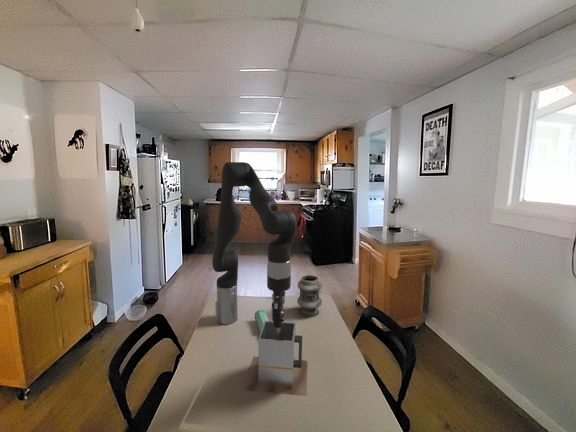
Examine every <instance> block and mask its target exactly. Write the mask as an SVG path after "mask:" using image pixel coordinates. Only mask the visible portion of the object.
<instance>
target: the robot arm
mask: <svg viewBox="0 0 576 432" xmlns="http://www.w3.org/2000/svg"><path fill="white" fill-rule="evenodd" d="M221 170H222V171H221V182H220V183H221V185H220V186H221V188H220V191H221V193H220V204H219V205H220V206H219V211H218V217H217V229H216V230H217V231H216V238H215V239H216V240H215V244H214V248H213V254H212V259H211V260H212V261H211V262H212V268H213V271H215V272H216V273H222V272H223V273H224V272H225V273H224V274H222V275H220V276H219V277H218V278H217V279H216V302H215V303H214V304H215V305H214V306H215V322H216V323H219V324H220V325H231V324H234V323H235V322H237V321H238V314H239V313H238V278H239V277H238V276H239V275H238V273H239V256H238V253H237V251H236V250H235V249H228V250H226V249H227V247H228V245H229V244H230V243H231V242H232V241H233V239H234V238H235V237H236V236H237V234H238V233H239V231H240V228H241V223H242V212H241V211H240V208H239V206H238V205H237V203H236V202H235V199H234V195H233V191H234V187H236V188H237V187H240V188H241V187H248V188H249V195H248V199H249V202H250V205H251V206H252V208H253V209H254V210H255V211H256V213H257V214H258V216H259V219H260V222H261V225H262V228H263V230H264V231H265V233H266V234H268V235H272V236H275V235H278V236H277V238H276V239H274V240H271V241H270V242H269V243H268V248H267V255H268V256H267V266H266V267H267V268H266V269H267V270H266V278H267V279H266V282H267V283H266V287H267V289H268V290H270V291H271V292H272V295H271V301H272V302H271V313H272V314H271V316H272V317H273V318H274V327H275V328H280V327H281V316H282V315H281V312H282V310H283V309H284V307H285V306H284V304H285V301H286V300H285V299H286V292H287V291H288V290H290V289H291V283H292V282H291V281H292V279H291V278H292V277H291V276H292V264H291V247H292V244H293V240H294V237H295V233H296V229H297V226H298V225H297V223H298V222H297V218H296V215H295V213H294V212H292V210H279V205H278V204H279V203H277V201H276V200H275V199H274V198H273V197H272V195H271V194H270V193H269V192H268V190H267V189H266V188H265V187H264V186H263V184H262V182H261V180H260V178H259V177H258V175H257V173H256V171H255V169H254V168H253V166H252V165H251V164H249V163H248V162H245V161H244V162H243V161H242V162H238V161H231V162H230V161H228V162H225V163H224V164H223V166H222V169H221Z"/></svg>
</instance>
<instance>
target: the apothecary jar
mask: <svg viewBox="0 0 576 432" xmlns="http://www.w3.org/2000/svg"><path fill="white" fill-rule="evenodd" d="M322 286H323V284H322V283H321V281H320V280H319V277H318V276H316V275H314V274H305V275H303V276H302V277H301V278H300V280H299V281H298V282H297V288H298V289H299V296H298V297H297V304H298V306H299V307H300V308H299V312H298V313H299V314H300V315H301V316H303V317H307V318H312V317H317V316H318V315H319V314H320V311H319V309H318V308H320V307H321V306H322V298H321V297H320V290H321V289H322V288H323V287H322Z"/></svg>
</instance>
